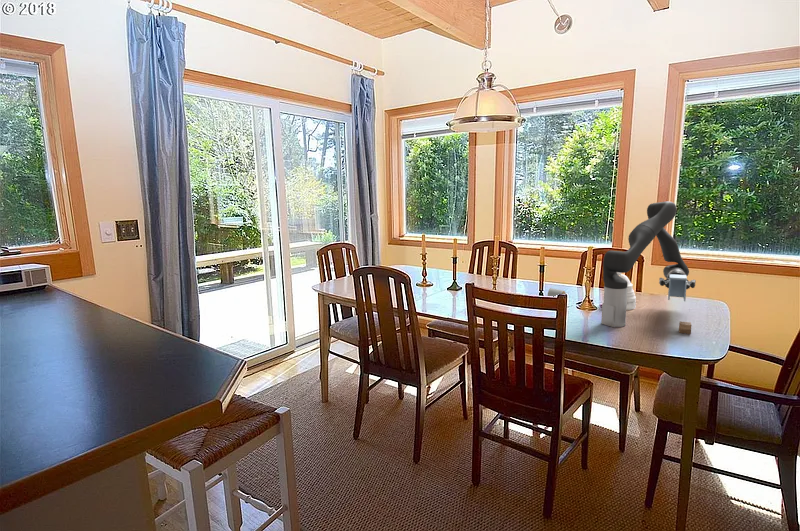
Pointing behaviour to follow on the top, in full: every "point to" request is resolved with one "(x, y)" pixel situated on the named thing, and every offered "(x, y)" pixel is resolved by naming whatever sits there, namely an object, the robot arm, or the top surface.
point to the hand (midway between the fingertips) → (677, 286)
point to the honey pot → (629, 293)
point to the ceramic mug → (555, 292)
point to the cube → (685, 327)
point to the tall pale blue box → (677, 286)
